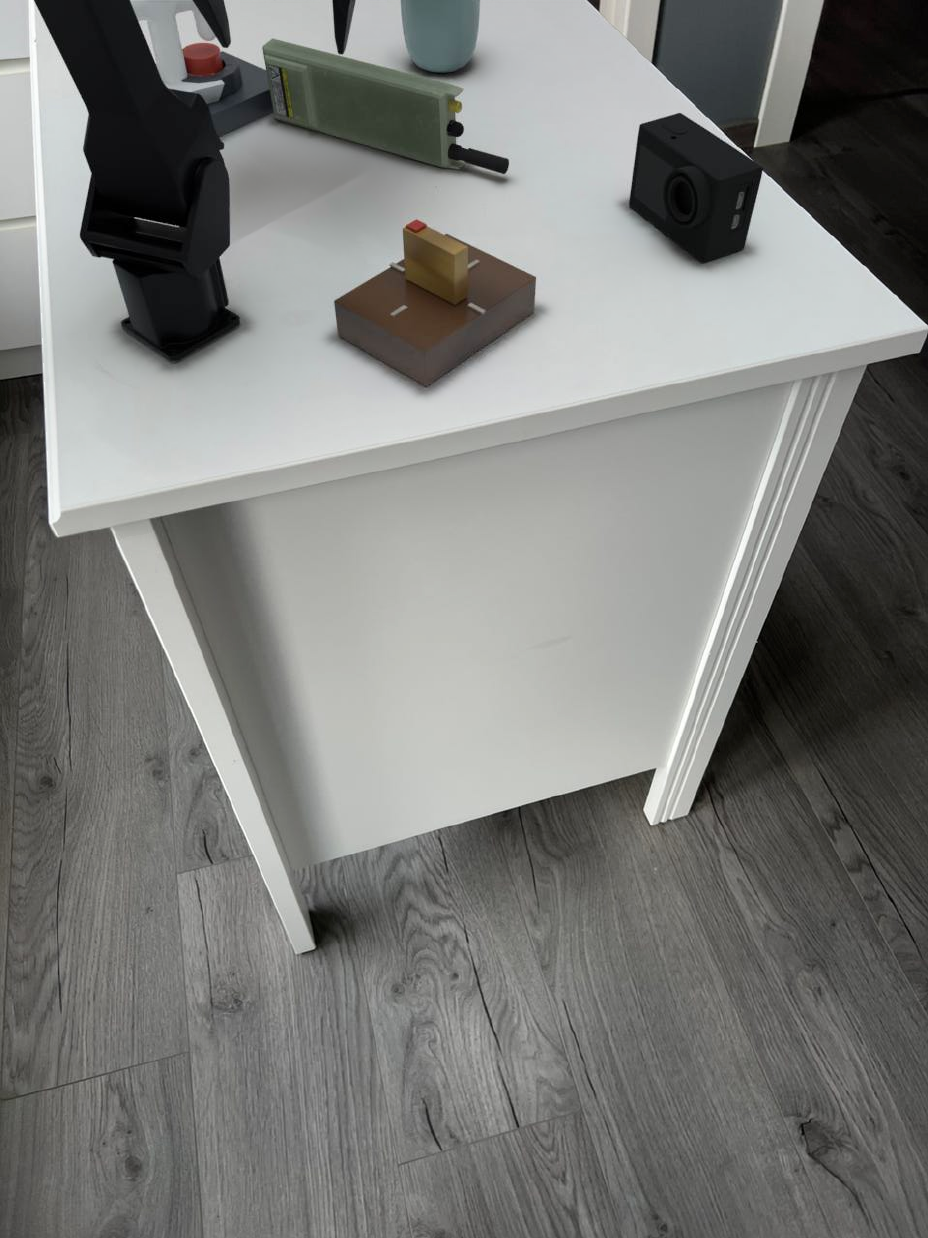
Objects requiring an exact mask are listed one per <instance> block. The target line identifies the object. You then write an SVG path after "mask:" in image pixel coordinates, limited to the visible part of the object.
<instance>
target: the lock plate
mask: <svg viewBox="0 0 928 1238" xmlns="http://www.w3.org/2000/svg"><path fill="white" fill-rule="evenodd" d="M444 235H446V236H448V237H450V238H452V239H453V240H455V241H457V242H459V243H461V244H463V245H465V246H467V247H468V297H467V298H466V299H464V300H462V301H461V302H459V303H458V304H456V305H453V304H452V303H450V302H448V301H446V300H444V299H442V298H440V297H439V296H437V295H435V294H433V293H431V292H429V291H427V290H426V289H424V288H422V287H420V286H418V285H416V284H414V283H413V282H411V281H409V280H407V279H406V278H405V262H404V258H403V259H401V260H399V261H398V262H396V263H395V262H393V261H392V262H390V263H389V267H388V268H386V269H385V270H383V271H381V272H379V273H378V274H376V275H375V276H372V277H371V278H369V279H368V280H366V281H365V282H363V283H361V284H360V285H358V286H356V287H355V288H353V289H351V290H349V291H348V292H347V293H344V294H343V295H341V296H340V297H338V298H336V299H334V300H333V306H334V312H335V313H334V314H335V320H336V321H335V322H336V330H337V337H340V338H341V339H343V340H345V341H346V342H348V343H350V344H351V345H353V346H355V347H357V348H359V349H360V350H362V351H364V352H365V353H367V354H369V355H370V356H373V357H374V358H376V359H378V360H379V361H380V362H383V363H385V364H386V365H387V366H389V367H391V368H393V369H395V370H397V371H398V372H400V373H401V374H403V375H405V376H406V377H408V378H410V379H412V380H413V381H415V382H417V383H418V384H420V385H422V386H424V387H429V386H430V385H431V384H433V383H434V382H435V381H438V379H440V378H442V377H443V376H444V375H445V374H447V373H448V372H450V371H451V370H452V369H454V368H455V367H457V366H458V365H460V364H461V363H463V362H464V361H465V360H467V359H469V358H470V357H472V356H473V355H474V354H476V353H478V352H479V351H481V349H483V348H484V347H486V346H487V345H489V344H490V343H492V342H493V341H494V340H496V339H497V338H499V337H500V336H502V335H504V333H506V332H507V331H509V330H511V329H512V328H513V327H515V326H516V325H517V324H519V323H520V322H522V321H524V319H526V318H528V317H529V316H530V315H532V314H534V313H535V303H536V289H537V287H536V286H537V276H536V275H533V274H531V273H528V272H527V271H525V270H522V269H521V268H519V267H516V266H514V265H512V264H510V263H508V262H506V261H504V260H502V259H500V258H498V257H496V256H494V255H492V254H490V253H488V252H486V251H483V250H481V249H479V248H477V247H476V246H473V245H471V244H470V243H467V242H465V241H463V240H461V239H459V238H458V237H456V236H455V237H454V236H453V235H451V234H448V233H445V234H444Z"/></svg>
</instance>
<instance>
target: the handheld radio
mask: <svg viewBox="0 0 928 1238" xmlns="http://www.w3.org/2000/svg"><path fill="white" fill-rule="evenodd" d="M261 49H262V55H263V59H264V66H265V70H266V72H267V78H268V84H269V89H270V95H271V101H272V106H273V117H274V118H275V119H276V120H277V121H282V122H284V123H288V124H291V125H295V126H297V127H301V128H304V129H308V130H311V131H315V132H318V133H321V134H326V135H329V136H332V137H336V138H339V139H341V140H342V139H343V140H346V141H349V142H352V143H356V144H358V145H359V144H360V145H363V146H367V147H370V148H374V149H377V150H381V151H383V152H388V153H391V154H394V155H397V156H401V157H404V158H407V159H411V160H415V161H418V162H422V163H425V164H427V165H431V166H434V167H439V168H448V169H452V170H457V171H458V170H460V169H461V168H463V167H464V166H466V164H468V165H469V164H470V165H472V166H475V167H479V168H481V169H485V170H488V171H492V172H495V173H498V174H502V175H506V173H508V171H509V167H510V160H509V158H506V157H503V156H500V155H496V154H494V153H493V154H492V153H489V152H486V151H482V150H479V149H474V148H471V147H468V148H466V147H463V146H462V145H460V144H457V138H460V137H461V136H463V134H464V131H465V126H464V124H463V123H462V122H460V121H458V120H457V119H456V114H459V113H461V112H462V109H463V103H462V101H461V100H456V98H457V97H459V95H461V93H462V92H464V88H463V87H460V86H458V85H455V84H451V83H447V82H443V81H440V80H436V79H432V78H427V77H425V76H419V75H416V74H412V73H408V72H405V71H400V70H397V69H393V68H389V67H385V66H381V65H377V64H374V63H369V62H365V61H361V60H358V59H354V58H350V57H346V56H342V55H340V54H335V53H331V52H327V51H323V50H319V49H315V48H311V47H308V46H304V45H300V44H296V43H292V42H289V41H284V40H280V39H277V38H273V37H272V38H271V39H269V40H268V41H267V42H266V43H265V44H263V45H262V46H261Z"/></svg>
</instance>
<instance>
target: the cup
mask: <svg viewBox="0 0 928 1238" xmlns="http://www.w3.org/2000/svg"><path fill="white" fill-rule="evenodd" d="M400 11H401V12H400V13H401V23H402V30H403V37H404V43H405V46H406V47H405V48H406V50H407V53H408V55H409V57H410V59H411V60H412V62H413V63H414V64H415V65H416V66H417V67H418V68H420V69H422V70H423V71H427V72H431V73H437V74H446V73H453V72H456V71H458V70H461V69H462V68H464V67H465V66H466V65H467V64H468V63H469V61H470V60H471V58H472V57H473V55H474V52H475V50H476V46H477V41H478V36H479V27H480V17H481V15H480V13H481V0H400Z"/></svg>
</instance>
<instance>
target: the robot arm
mask: <svg viewBox="0 0 928 1238" xmlns="http://www.w3.org/2000/svg"><path fill="white" fill-rule="evenodd" d="M356 1H357V0H332V1H331V2H332V17H333V32H334V35H333V36H334V41H335V46H336V50H337V55H341V56H342V55H344V53H345V52H346V50H347V46H348V45H347V44H348V40H349V35H350V31H351V25H352V20H353V16H354V11H355V6H356ZM33 2H34V3H35V6H36V8H37V10H38V12H39V14H40V16H41V18H42V21H43V22H44V24H45V25H46V28H47V30H48V32H49V34H50V36H51V38H52V40H53V42H54V45H55V46H56V49H57V50H58V53H59V54H60V56H61V59H62V61H63V62H64V65H65V67H66V68H67V70H68V73H69V75H70V76H71V79H72V81H73V83H74V85H75V88H76V89H77V91H78V93H79V95H80V97H81V99H82V101H83V103H84V105H85V107H86V110H87V113H88V116H87V122H86V126H85V127H86V128H85V135H84V140H83V146H82V152H83V154H84V157H85V161H86V163H87V165H88V168H89V171H90V177H89V178H90V180H89V183H88V188H87V195H86V199H85V203H84V204H85V205H84V210H83V215H82V221H81V226H80V231H79V238H80V241H81V242H82V243H83V245H84V246H85V248H86V249H87V250H88V252H89V253H90V255H91V256H92V257H95V258H98V259H99V258H100V259H101V258H105V259H109V260H111V262H112V265H113V268H114V273H115V275H116V278H117V282H118V284H119V288H120V290H121V295H122V298H123V301H124V304H125V308H126V311H127V314H128V316H127V317H126V318H124V319H122V320H120V321H121V322H120V326H121V329H122V330H123V331H125V332H126V333H127V334H129V335H130V336H132V337H133V338H135V339H136V340H138V341H139V342H141V343H143V344H144V345H146V346H147V347H148V348H150V349H151V350H153V351H155V353H157V354H159V355H161V356H162V357H164V358H165V359H167V360H168V361H170V362H178V361H180V360H182V359H184V358H185V357H187V356H190V355H191V354H192V353H194V352H196V351H198V350H199V349H201V348H202V347H204V346H206V345H208V344H210V343H211V342H213V341H214V340H216V339H218V338H220V337H222V336H224V335H225V334H227V333H228V332H230V331H233V330H234V329H235V328H237V327H239V326H240V325H241V318H240V316H239V314H236V313H235V312H233V311H232V310H229V308H226V307H228V306H229V304H230V300H229V294H228V291H227V286H226V281H225V277H224V271H223V267H222V263H221V260H220V259H221V258H220V257H222V255H223V254H224V253H225V252H226V251H227V250H228V249H229V248H230V246H231V197H230V196H231V186H230V185H231V184H230V183H231V182H230V176H229V172H228V169H227V167H226V163H225V160H224V159H225V158H224V157H223V154H222V152H221V151H222V150H224V149H225V143H224V142H223V141H222V139H221V137H218V135H217V133H216V131H215V129H214V125H213V122H212V118H211V114H210V110H209V107H208V105H207V103H206V102H205V100H204V99H203V97H202V96H201V95H200V94H198V93H192V92H187V91H181V90H175V89H169V88H168V87H167V86H166V85H165V84H164V82H163V81H162V78H161V76H160V73H159V71H158V69H157V66H156V60H155V58H154V56H153V54H152V51H151V49H150V47H149V44H148V41H147V39H146V36H145V34H144V31H143V30H142V29H143V28H142V27H141V24H140V21H138V19H137V17H136V14H135V12H134V9H133V7H132V4H131V2H130V0H33ZM193 2H194V3H195V5H196V7H197V8H198V9H199V11H200V13H201V14H202V16H203V17H204V19H205V20H206V22H207V24H208V25H209V27H210V28H211V30H212V31H213V33H214V35H215V36H216V38H215V39H217V41H218V42H219V44H220V45H221V48H223V49H228V48H229V47H230V45H231V44H232V38H231V29H230V22H229V17H228V12H227V7H226V4H225V0H193Z"/></svg>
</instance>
